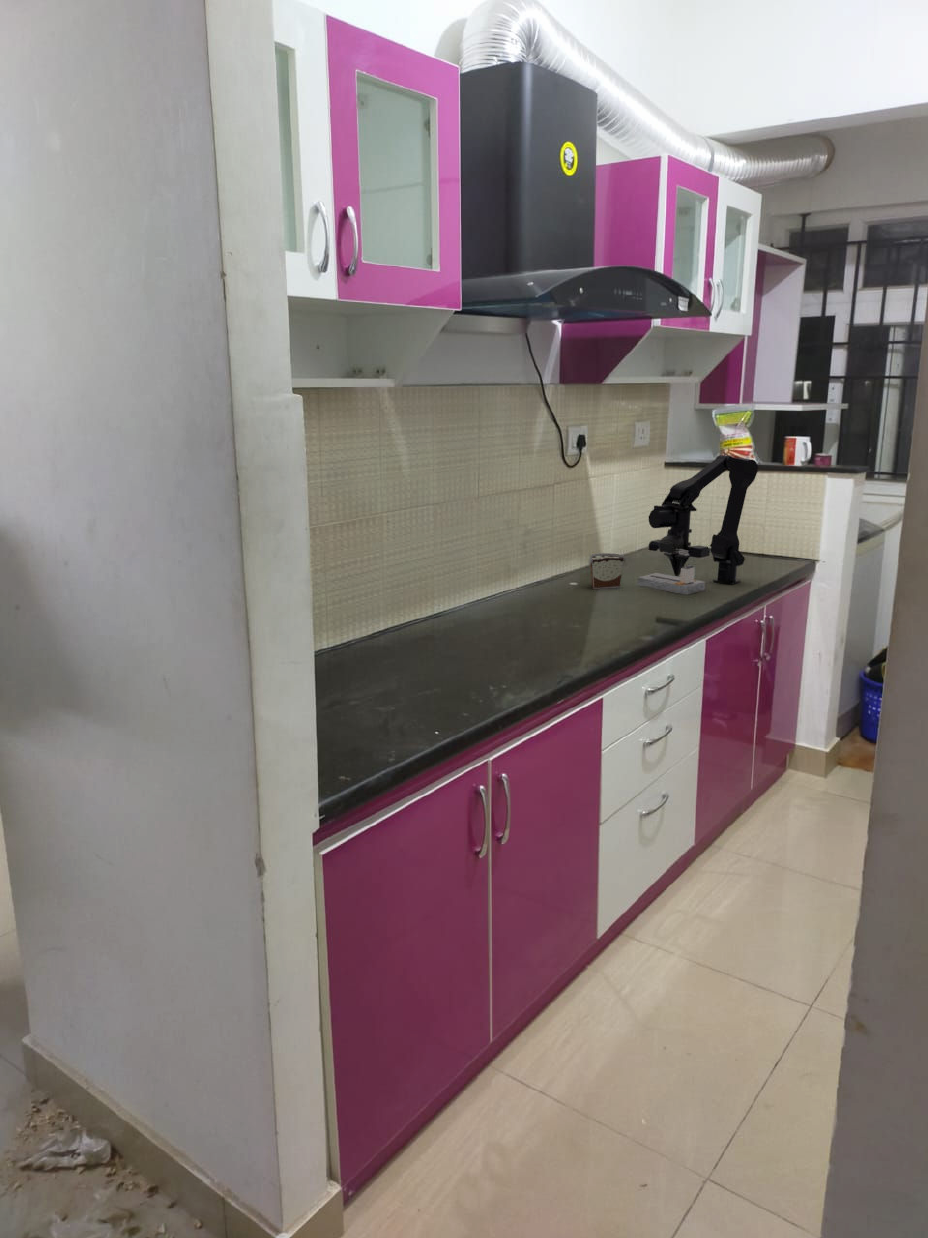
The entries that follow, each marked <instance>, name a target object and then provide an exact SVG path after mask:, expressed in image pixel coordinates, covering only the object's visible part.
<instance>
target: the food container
mask: <svg viewBox="0 0 928 1238" xmlns="http://www.w3.org/2000/svg"><path fill="white" fill-rule="evenodd" d="M589 556H590V557H589V558H588V564H589V565H590V578H591V579H590V581H591V589H593V590H598V589H599V590H600V589H612V588H613V589H615V588H621V585H622V579H623V578H622V577H623V571H624V565H625V563H626V562H627V559H626V556H625V555H623V554H619V553H613V552H612V553H611V552H609V553H606V552H603V553H602V552H601V553H594V554H590V555H589Z"/></svg>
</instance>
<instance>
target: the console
mask: <svg viewBox="0 0 928 1238" xmlns="http://www.w3.org/2000/svg"><path fill="white" fill-rule="evenodd" d="M637 586H639V587H640V586H641V587H645V588H651V589H655V590H659V591H664V592H666V591H667V592H670V593H671V592H672V593H676V594H681V595H687V596H688V595H691V594H695V593H698V592H702V591H704V590H705V589H706V588H705V586H706V582H705V581H702V580H699V579H698V580H697V579H694V582H691V583H687V584H686V583H681V582H680V576H675V575H669V574H663V573H658V572H655V573H651V574H647V575H641V576H639V577H638V578H637Z"/></svg>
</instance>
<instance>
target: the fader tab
mask: <svg viewBox="0 0 928 1238" xmlns="http://www.w3.org/2000/svg"><path fill="white" fill-rule="evenodd" d="M695 568H696V566H695V567H694V565H693V564H686V565H684V566H683V568H681V572H680V574H679V577H680V582H681V583H686V584H687V583H691V582H694V580H695V572H696V569H695Z"/></svg>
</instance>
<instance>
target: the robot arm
mask: <svg viewBox="0 0 928 1238" xmlns="http://www.w3.org/2000/svg"><path fill="white" fill-rule="evenodd" d="M726 471H728V479H729V481H730V490H729V495H728V499H727V504H726V507H725V512H724V515H723V520H722V525H721V528H720V531H719V532H718V533H717V534H713V535H712V537H711V543H710V545H709V547H710V549H709V547H708V546H706V545H705V546H704V545H693V546H691V545H692V544H691V541H690V534H692V528H691V527H690V526H691V514H692V513H691V512H696V511H697V510H698V509H697V508H696V507H695V506H694V505H693V504H694V502H695V501H696V500H697V499H699V496H700V494H701V491H702V490H703V489H704V488H706V487H707V486H708V485H709V484H711V483H712V482H713V481H714V480H716V479H717V478H718V477H720V476H721V475H722V474H724V473H725V472H726ZM758 471H759V465H758V463H757V461H756V460H754V459H751V458H750V459H749V458H741V457H737V458H736V457H733V456H731V455H726V454H719V455H717V456H716V457H715V459H714V460H712V461H711V462H710V463H709V464H707V465H706V466H705V467H704V468H702V469H700V471H698V472H697V473H696V474H694V475H693V476H692V477H690V478H687V479H685V480H682V481H679V482H676V484H673V485H672V486H671V487H670V489H669V492H668V494H667V496H666V497H665V499H664V500H663V502H662V503H661V505H654V506H653V509H652V510H651V511H650V512H649V515H648V523H649V525H650V527H651V528H652V529H661V528H669V529H667V533H666V535H665V536H664V537H662V538H661V539H654V540H650V541H649V543H648V548H647V549H648V550H649V551H654V552H658V550H659V552H660V553H663V555H664V556H666V557H667V558H668V559H669V561H670V565H671V567H672V570H673V575H674V576H676V577H680V575H681V568H683V566H686V565H685V564H686V563H687V562H688V560H689V559H690V558H696V559H702V558H705V557H709V556H710V553H711V554H712V555H711V556H712V559H713V562H715V563H718V569H717V578H715V579H713V580H712V582H713V583H714V582H715V583H720V584H725V585H733V584H736V583H740V582H742V581H741V579H737V576H738V575H737V574H738V567H740V566H742V565H744V563H745V560H746V558H745V557H744V556H743V554H742V553H741V552H740V541H739V540H740V539H739V537H738V530H739V524H740V520H741V516H742V513H743V509H744V505H745V504H744V503H745V500H746V495H747V491H748V488H749V487H750V486H751V485H752V484H753V483H754V481H755V479H756V477H757V475H758Z"/></svg>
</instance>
